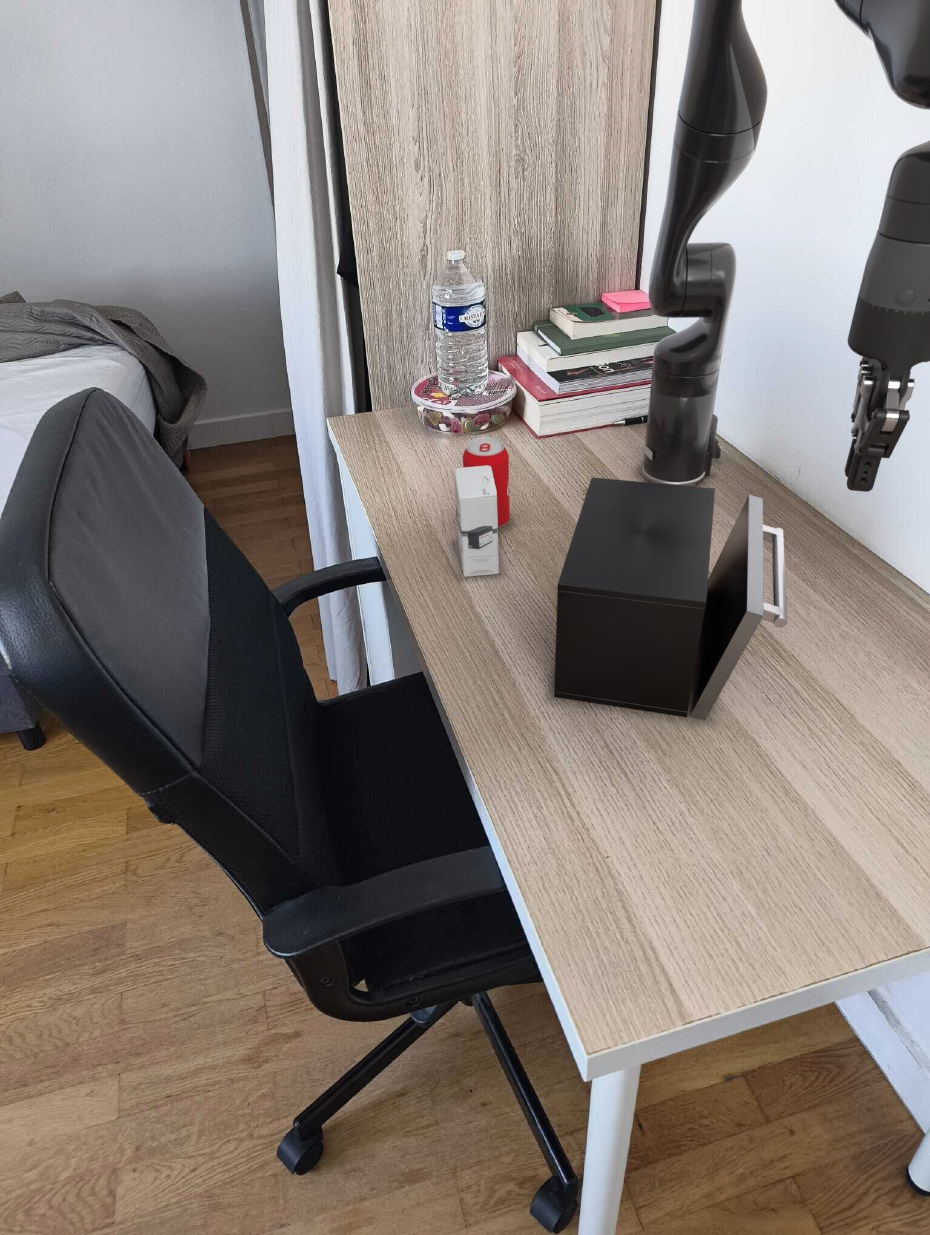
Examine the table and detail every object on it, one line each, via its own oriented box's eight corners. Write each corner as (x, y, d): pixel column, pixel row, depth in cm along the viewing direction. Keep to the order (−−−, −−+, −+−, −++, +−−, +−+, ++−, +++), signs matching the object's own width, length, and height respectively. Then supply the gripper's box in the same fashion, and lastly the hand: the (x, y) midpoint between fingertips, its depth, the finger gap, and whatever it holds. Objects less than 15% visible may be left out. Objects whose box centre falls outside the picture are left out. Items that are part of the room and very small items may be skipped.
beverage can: (510, 511, 122) (510, 434, 115) (508, 533, 117) (507, 455, 110) (468, 510, 123) (464, 434, 115) (463, 533, 118) (459, 455, 110)
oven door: (738, 605, 103) (789, 506, 94) (734, 730, 87) (796, 626, 77) (701, 593, 104) (748, 494, 94) (690, 715, 87) (746, 610, 78)
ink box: (457, 543, 116) (452, 466, 109) (492, 540, 116) (490, 463, 109) (462, 578, 109) (458, 498, 102) (500, 575, 109) (498, 495, 102)
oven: (698, 595, 104) (715, 488, 95) (686, 717, 87) (706, 602, 78) (585, 581, 107) (591, 477, 98) (553, 697, 91) (557, 584, 81)
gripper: (977, 323, 62) (911, 524, 72) (945, 269, 72) (891, 453, 83) (867, 318, 64) (818, 516, 74) (852, 267, 74) (811, 446, 85)
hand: (857, 482), depth 79 cm, fingers closed
